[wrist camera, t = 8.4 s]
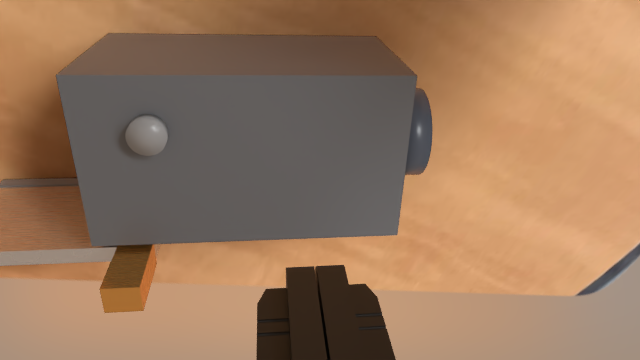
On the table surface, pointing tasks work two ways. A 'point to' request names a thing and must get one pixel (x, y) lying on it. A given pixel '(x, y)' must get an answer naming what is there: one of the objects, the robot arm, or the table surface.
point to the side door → (71, 243)
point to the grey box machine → (240, 137)
